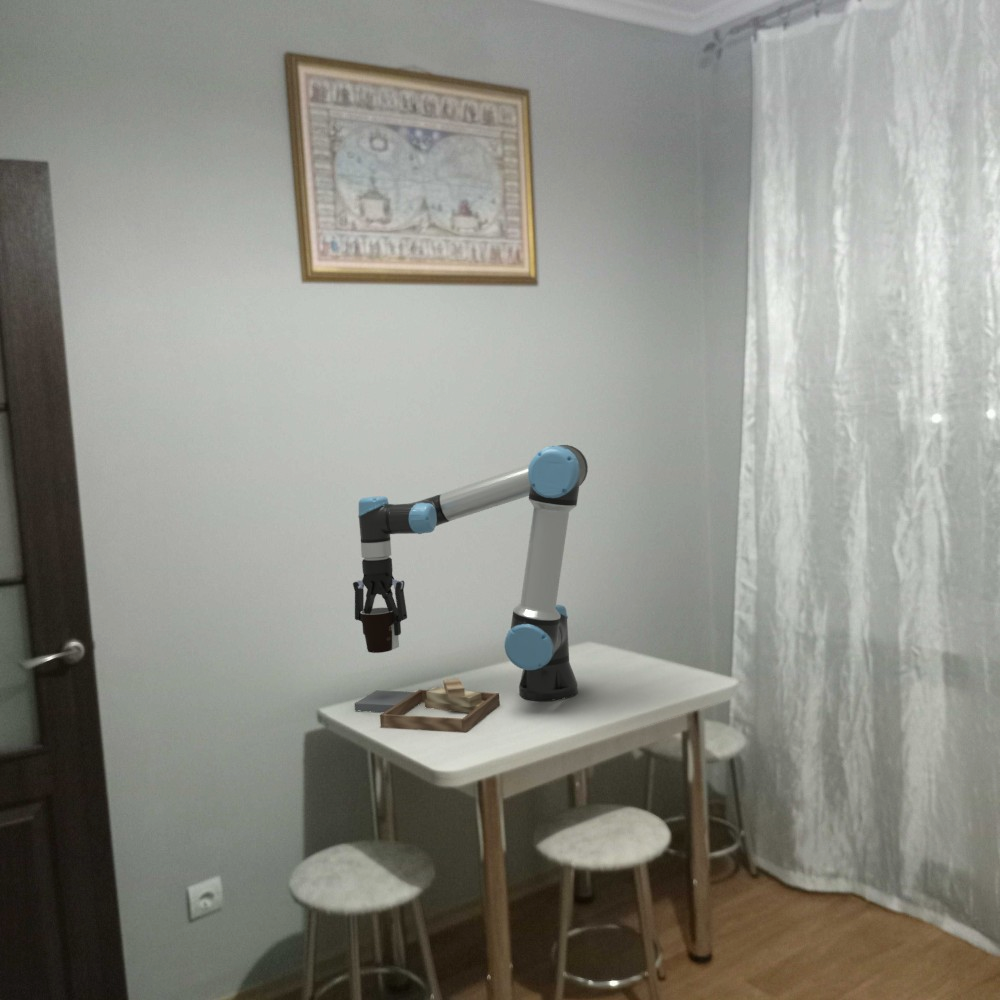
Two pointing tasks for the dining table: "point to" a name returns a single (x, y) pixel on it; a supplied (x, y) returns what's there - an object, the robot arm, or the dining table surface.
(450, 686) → the offcut board beech
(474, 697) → the offcut board pine
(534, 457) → the robot arm
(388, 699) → the plate
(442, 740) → the dining table surface
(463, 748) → the dining table surface
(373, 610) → the coffee mug
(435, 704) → the offcut board oak
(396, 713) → the wooden tray
